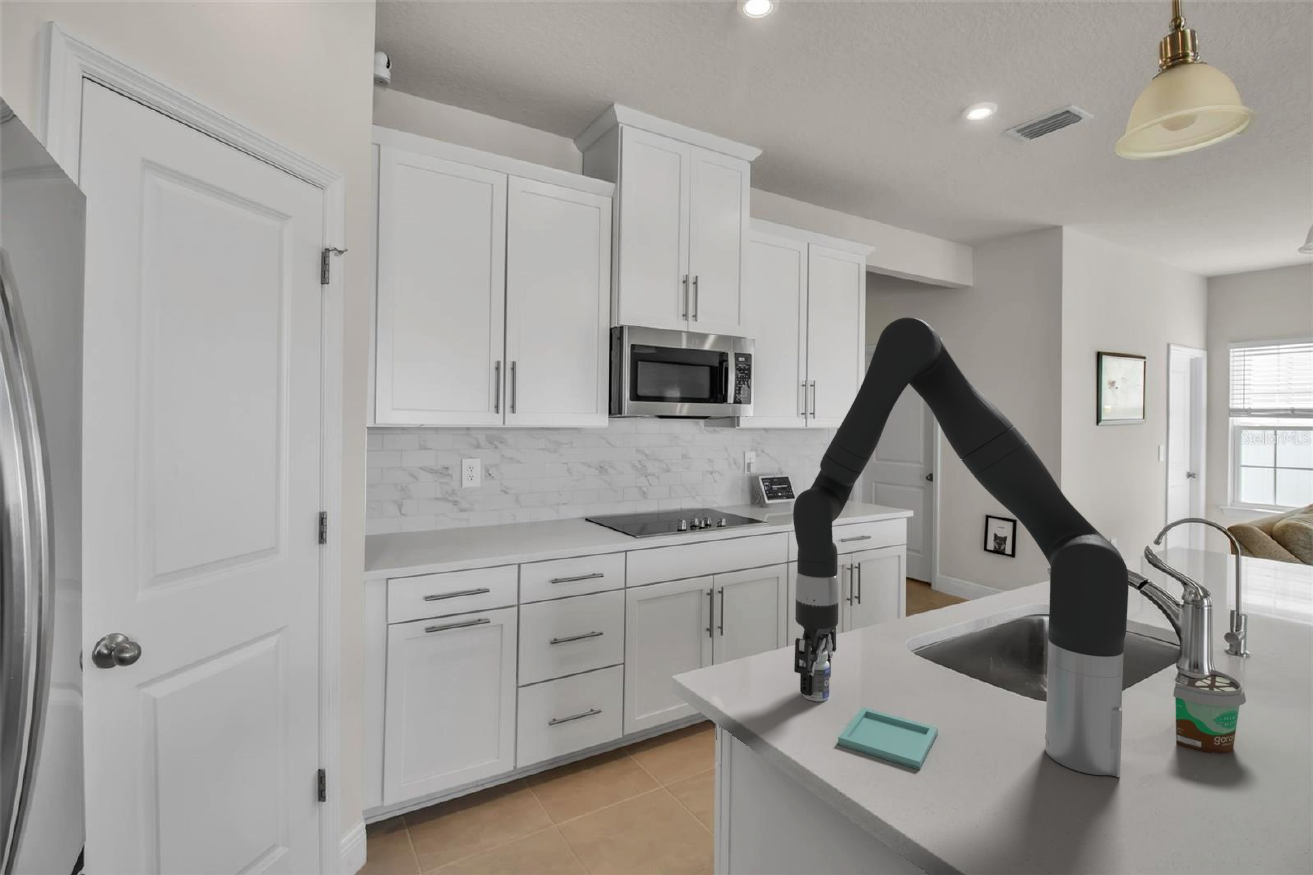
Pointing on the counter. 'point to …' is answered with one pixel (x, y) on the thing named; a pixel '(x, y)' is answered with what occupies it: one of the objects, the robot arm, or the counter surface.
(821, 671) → the pill bottle
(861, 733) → the tray
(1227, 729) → the food container
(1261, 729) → the counter surface
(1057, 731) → the robot arm
